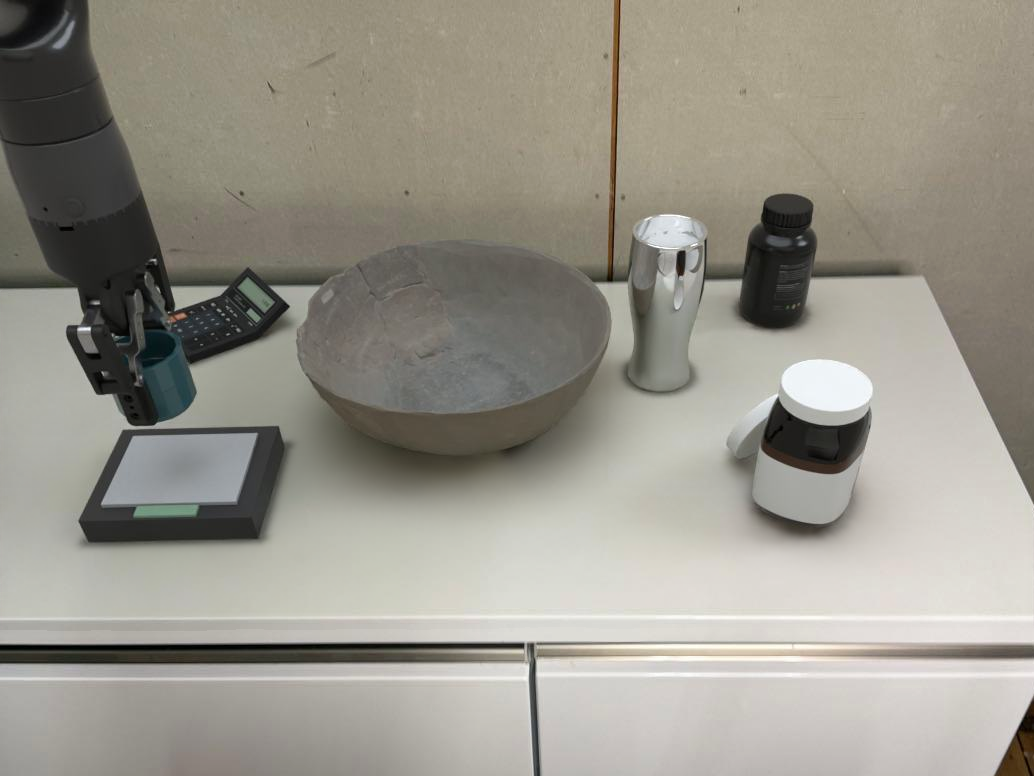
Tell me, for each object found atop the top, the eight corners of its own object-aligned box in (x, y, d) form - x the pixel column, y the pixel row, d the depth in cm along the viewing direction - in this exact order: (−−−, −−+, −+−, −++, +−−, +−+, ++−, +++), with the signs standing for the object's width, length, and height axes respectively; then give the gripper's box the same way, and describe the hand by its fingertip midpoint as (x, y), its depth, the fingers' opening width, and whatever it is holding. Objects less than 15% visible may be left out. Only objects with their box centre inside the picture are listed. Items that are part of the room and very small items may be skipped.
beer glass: (643, 402, 91) (653, 256, 80) (610, 364, 95) (616, 221, 85) (707, 384, 93) (725, 239, 82) (672, 348, 97) (685, 206, 87)
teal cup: (110, 427, 74) (87, 373, 71) (133, 382, 78) (112, 329, 75) (187, 425, 74) (168, 371, 71) (206, 380, 78) (189, 327, 75)
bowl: (372, 314, 103) (358, 227, 96) (627, 338, 99) (631, 248, 92) (270, 478, 84) (243, 384, 77) (580, 517, 79) (582, 420, 72)
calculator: (157, 324, 103) (148, 299, 100) (257, 290, 107) (251, 265, 105) (190, 363, 97) (182, 338, 95) (294, 325, 102) (288, 300, 100)
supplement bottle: (810, 302, 103) (831, 194, 95) (795, 334, 99) (816, 224, 90) (747, 290, 105) (763, 183, 97) (730, 321, 101) (745, 212, 92)
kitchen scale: (88, 542, 79) (75, 517, 77) (131, 450, 87) (121, 425, 85) (258, 538, 78) (250, 513, 77) (284, 446, 87) (278, 422, 85)
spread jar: (827, 551, 76) (858, 435, 68) (695, 506, 80) (709, 391, 72) (869, 465, 83) (901, 351, 75) (746, 428, 88) (764, 316, 79)
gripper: (62, 150, 69) (136, 348, 81) (-18, 245, 59) (79, 456, 71) (166, 147, 69) (224, 346, 81) (103, 242, 59) (180, 454, 71)
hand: (156, 397), depth 76 cm, fingers closed on teal cup, 6 cm apart
